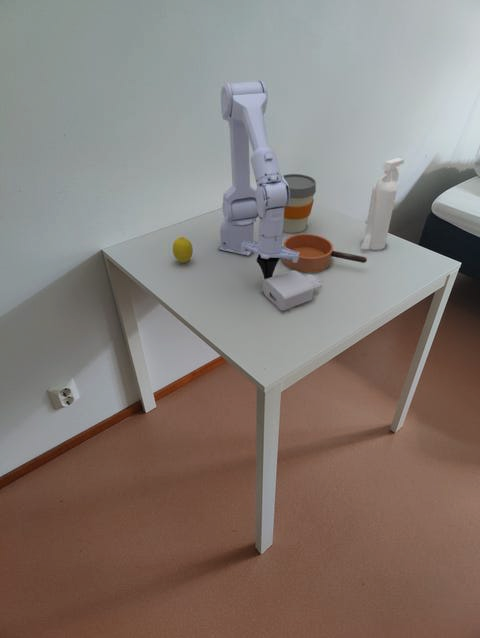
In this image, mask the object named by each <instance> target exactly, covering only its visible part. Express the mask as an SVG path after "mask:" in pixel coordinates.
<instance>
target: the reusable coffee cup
mask: <svg viewBox="0 0 480 638" xmlns="http://www.w3.org/2000/svg"><path fill="white" fill-rule="evenodd" d="M282 176H283V177H284V179H285V180H286V182H287V183H288V185H289V190H290V202H289V204H288V206H285V207H284V221H283V232H285V233H290V234H296V233H301V232H304V231H305V230H306V228H307V223H308V220H309V216H310V215H311V213H312V209H313V205H314V203H315V202H314V201H315V199H314V196H315V194H316V192H317V188H316V187H317V181H316V179H315V178H313V177H312V176H309V175H306V174H299V173H287V174H283V175H282Z"/></svg>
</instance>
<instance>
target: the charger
mask: <svg viewBox="0 0 480 638" xmlns="http://www.w3.org/2000/svg"><path fill="white" fill-rule="evenodd" d="M324 280H325V279H324V278H321V279H320V275H316V276H315V275H313V274H311V273H308V274H306V275H303V274H302V273H301V272H300V271H296V270H294V269H291V270H289V271H286V272H282V273H280V274H277V275H274V276H272V277H271V278H268V279H265V280H264V279H263V280H262V281H263V282H262V292H263V294H264V297H266V298H267V299H268V300H269V301H270V302H271V303H272V304H273V305H274V306H275V307H277V308H278V309H279V310H280V311H281V312H283V311H286V310H289V309H291V308H294V307H296V306H299V305H302V304H304V303H307V302H310V301H312V300H313V298H314V293H315V292H314V291H315V290H316V289H318V288H321V287H322V283H321V282H322V281H324Z"/></svg>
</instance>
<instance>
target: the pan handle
mask: <svg viewBox="0 0 480 638" xmlns="http://www.w3.org/2000/svg"><path fill="white" fill-rule="evenodd" d="M329 252H330V251H329ZM329 252H328V253H329ZM331 256H332V258H336V259H341V260H348V261H352V262H357V263H362V264H366V262H367V260H368V259H367V257H366V256H362V255H356V254H351V253H347V252H341V251H337V250H333V251H332V254H331Z"/></svg>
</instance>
